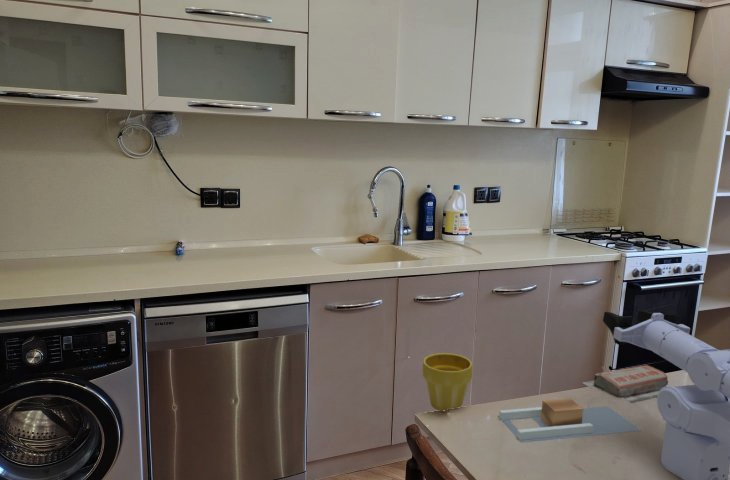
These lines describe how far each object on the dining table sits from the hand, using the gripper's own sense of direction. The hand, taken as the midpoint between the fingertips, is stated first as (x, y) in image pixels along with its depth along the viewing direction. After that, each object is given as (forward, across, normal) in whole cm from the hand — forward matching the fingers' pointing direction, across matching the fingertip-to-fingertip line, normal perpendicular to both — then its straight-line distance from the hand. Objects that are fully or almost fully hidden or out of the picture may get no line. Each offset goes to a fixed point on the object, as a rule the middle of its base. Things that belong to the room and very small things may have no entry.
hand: (622, 315), depth 107 cm
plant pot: (+10, +32, +23) cm, 40 cm away
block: (-4, +13, +21) cm, 24 cm away
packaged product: (+9, -12, +23) cm, 28 cm away
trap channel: (-4, +11, +22) cm, 25 cm away
